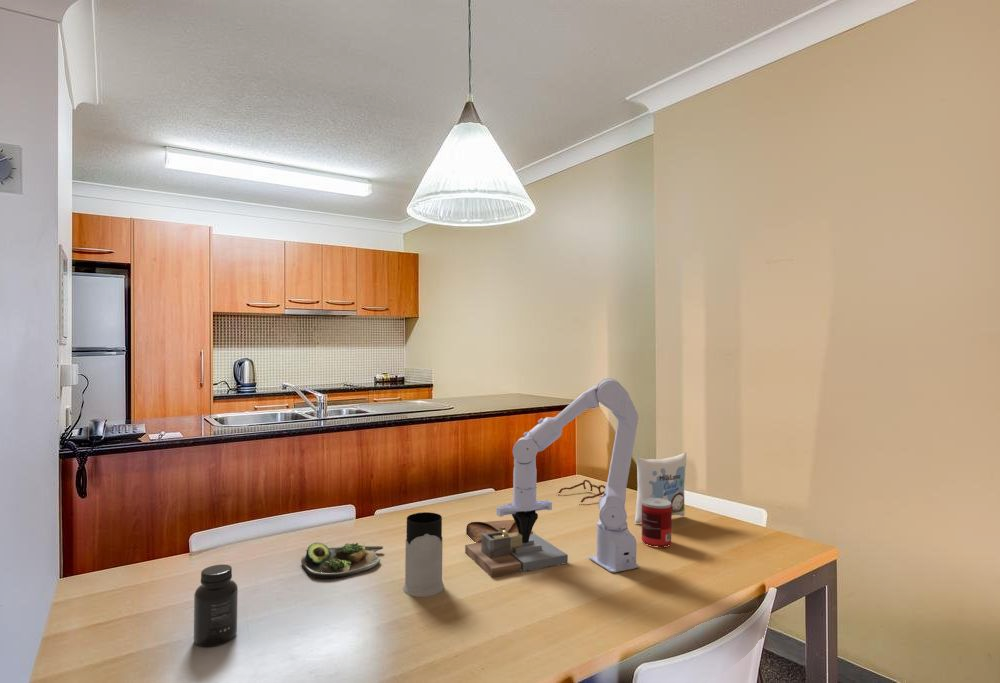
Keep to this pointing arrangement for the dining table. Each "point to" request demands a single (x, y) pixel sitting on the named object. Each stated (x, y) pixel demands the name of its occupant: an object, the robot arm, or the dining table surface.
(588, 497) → the glasses
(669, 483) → the pouch
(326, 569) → the salad plate
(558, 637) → the dining table surface
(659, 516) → the canned food
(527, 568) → the door leaf
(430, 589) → the glass holder
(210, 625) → the supplement bottle
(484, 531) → the sunglasses case
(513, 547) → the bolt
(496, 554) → the panel
